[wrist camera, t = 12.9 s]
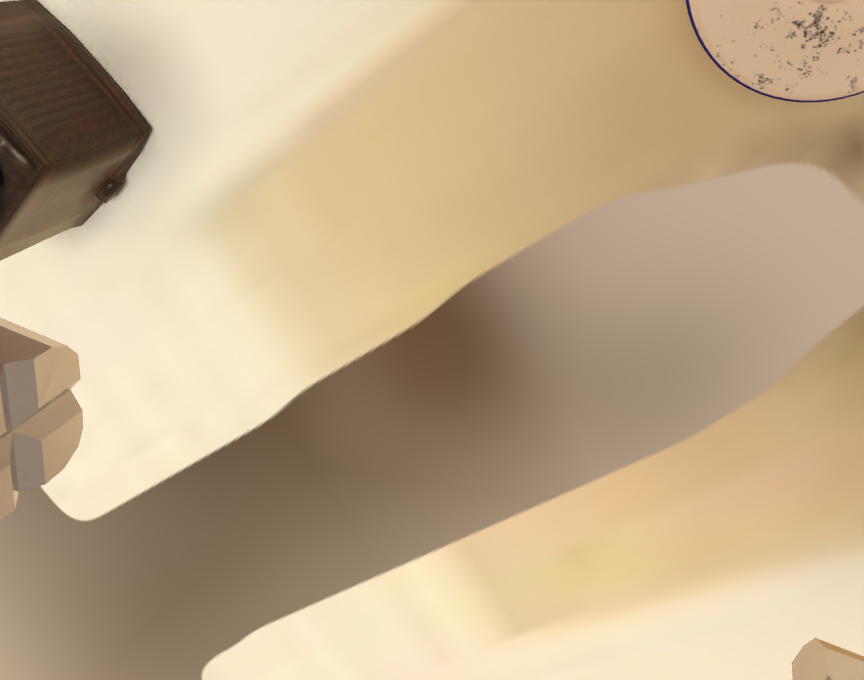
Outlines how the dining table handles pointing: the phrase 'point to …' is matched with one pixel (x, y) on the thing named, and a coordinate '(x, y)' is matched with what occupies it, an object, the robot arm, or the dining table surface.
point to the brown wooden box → (56, 129)
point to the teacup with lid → (785, 45)
